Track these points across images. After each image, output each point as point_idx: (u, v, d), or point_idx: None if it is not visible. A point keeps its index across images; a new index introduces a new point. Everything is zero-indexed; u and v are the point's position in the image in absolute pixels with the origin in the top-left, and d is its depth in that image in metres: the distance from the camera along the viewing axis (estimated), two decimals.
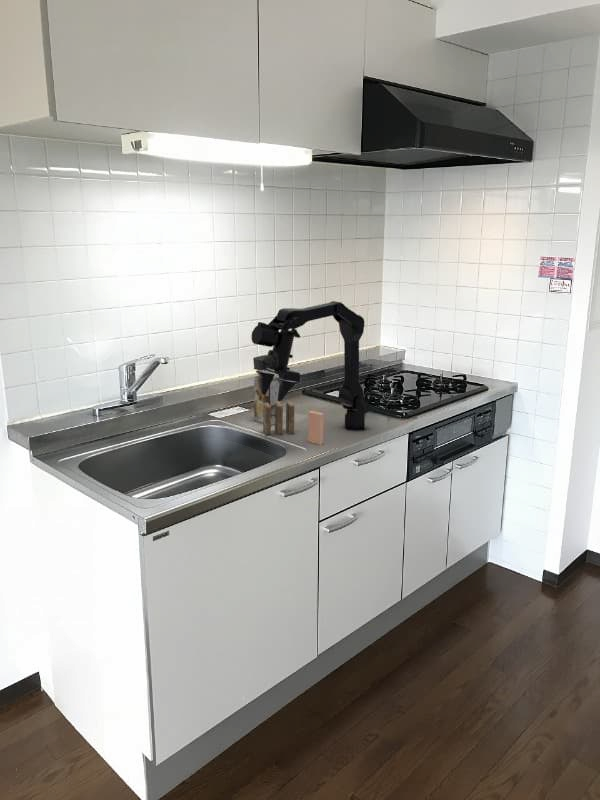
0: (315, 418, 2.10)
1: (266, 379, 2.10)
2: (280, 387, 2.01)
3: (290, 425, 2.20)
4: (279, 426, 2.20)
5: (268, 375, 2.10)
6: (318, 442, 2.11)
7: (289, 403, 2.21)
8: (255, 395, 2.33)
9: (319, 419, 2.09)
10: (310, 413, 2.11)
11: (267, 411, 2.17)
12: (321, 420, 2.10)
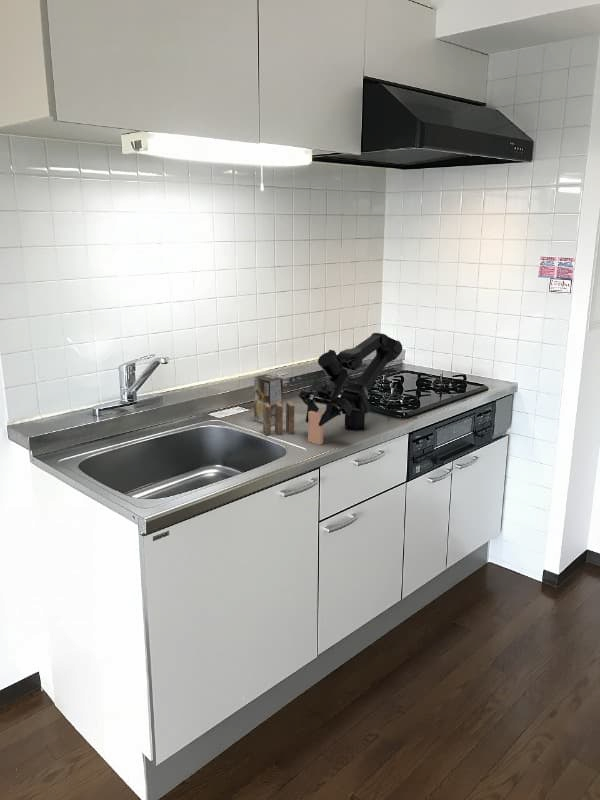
0: (315, 418, 2.10)
1: (313, 409, 2.14)
2: (326, 412, 2.09)
3: (290, 425, 2.20)
4: (279, 426, 2.20)
5: (315, 406, 2.15)
6: (318, 442, 2.11)
7: (289, 403, 2.21)
8: (255, 395, 2.33)
9: (319, 419, 2.09)
10: (310, 413, 2.11)
11: (267, 411, 2.17)
12: None
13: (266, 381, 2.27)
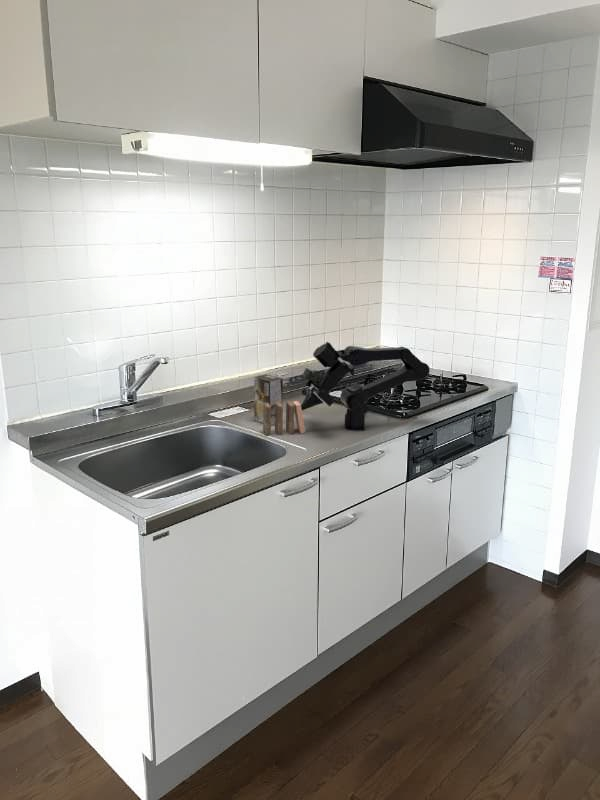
0: (295, 408, 2.22)
1: None
2: (308, 398, 2.21)
3: (290, 425, 2.20)
4: (279, 426, 2.20)
5: None
6: (300, 431, 2.23)
7: (289, 403, 2.21)
8: (255, 395, 2.33)
9: (296, 409, 2.20)
10: (293, 403, 2.23)
11: (267, 411, 2.17)
12: (298, 410, 2.20)
13: (266, 381, 2.27)
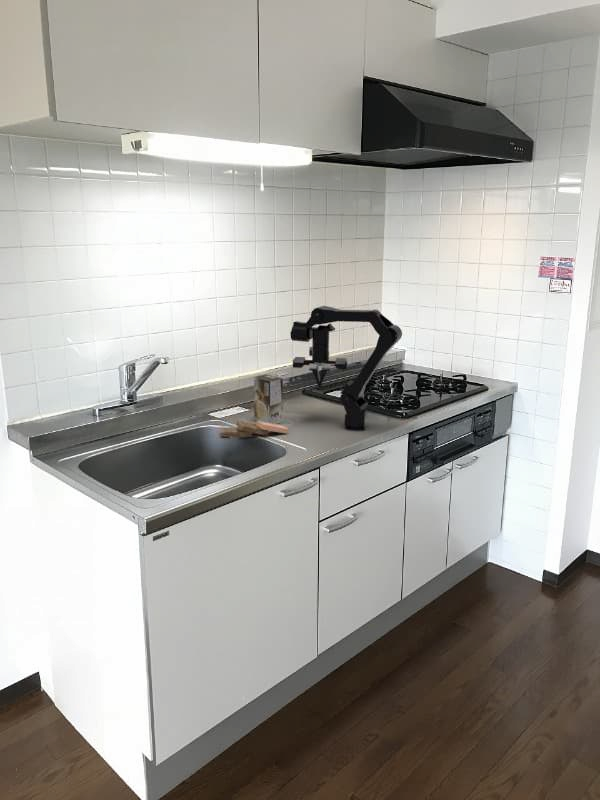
0: None
1: None
2: None
3: (259, 433, 2.18)
4: (242, 434, 2.17)
5: None
6: None
7: (238, 425, 2.17)
8: (255, 395, 2.33)
9: None
10: (258, 426, 2.20)
11: None
12: (268, 428, 2.17)
13: (266, 381, 2.27)
